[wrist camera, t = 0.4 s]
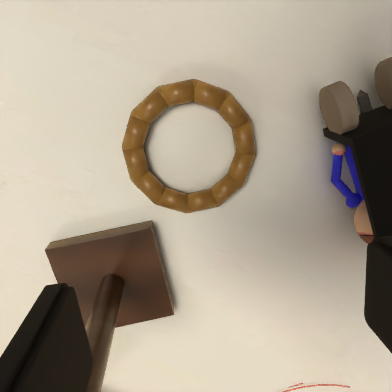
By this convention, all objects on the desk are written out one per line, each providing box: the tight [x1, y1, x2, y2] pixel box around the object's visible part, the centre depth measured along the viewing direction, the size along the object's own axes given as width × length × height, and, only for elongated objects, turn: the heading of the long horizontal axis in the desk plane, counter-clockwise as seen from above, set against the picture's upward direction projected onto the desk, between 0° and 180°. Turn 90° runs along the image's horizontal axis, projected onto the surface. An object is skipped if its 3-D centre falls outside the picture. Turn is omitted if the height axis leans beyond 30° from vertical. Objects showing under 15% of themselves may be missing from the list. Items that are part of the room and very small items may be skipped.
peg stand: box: [45, 221, 174, 392], centre depth 24 cm, size 9×9×14 cm
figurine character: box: [319, 57, 392, 244], centre depth 26 cm, size 7×8×15 cm
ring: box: [122, 79, 256, 213], centre depth 27 cm, size 10×10×2 cm
